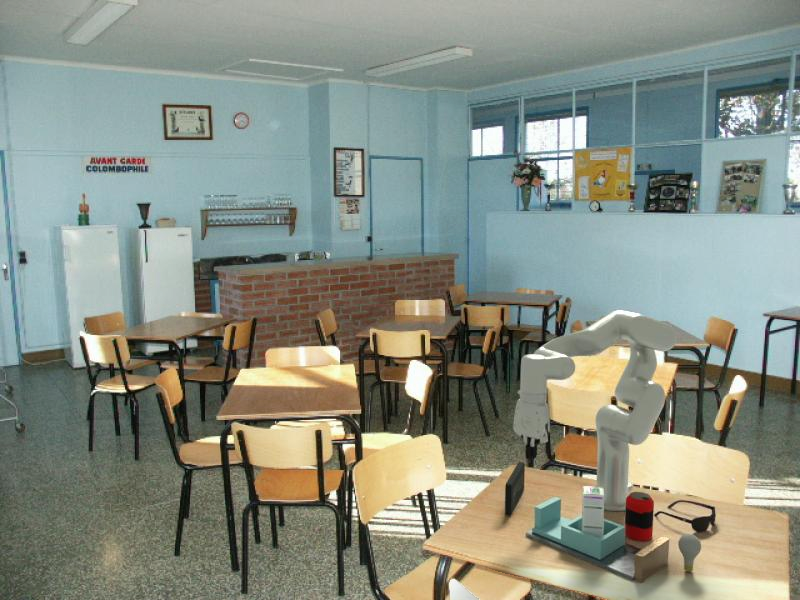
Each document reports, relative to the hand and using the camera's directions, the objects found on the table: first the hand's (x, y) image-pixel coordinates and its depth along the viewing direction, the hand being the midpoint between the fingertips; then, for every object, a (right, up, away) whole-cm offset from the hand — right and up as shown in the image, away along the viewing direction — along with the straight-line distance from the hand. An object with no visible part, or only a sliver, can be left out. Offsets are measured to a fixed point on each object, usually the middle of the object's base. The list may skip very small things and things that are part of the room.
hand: (531, 457), depth 212 cm
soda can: (+30, -21, -5) cm, 37 cm away
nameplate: (-2, -18, +18) cm, 26 cm away
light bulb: (+36, -24, -25) cm, 50 cm away
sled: (+11, -21, -9) cm, 25 cm away
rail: (+15, -22, -12) cm, 29 cm away
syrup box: (+15, -20, -13) cm, 28 cm away
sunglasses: (+47, -20, +5) cm, 51 cm away
